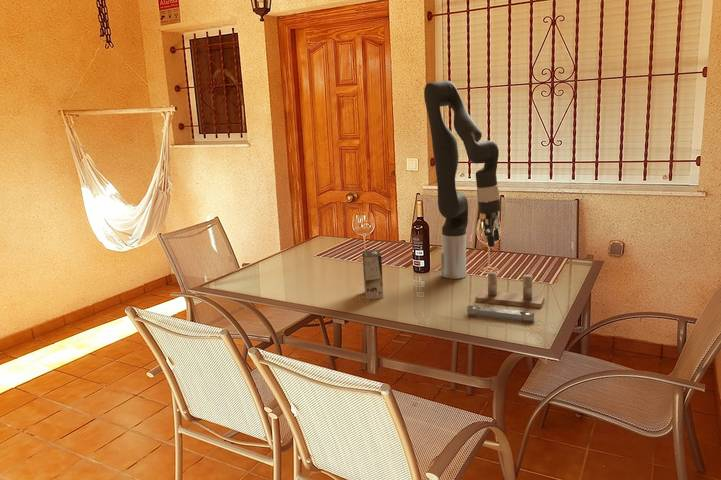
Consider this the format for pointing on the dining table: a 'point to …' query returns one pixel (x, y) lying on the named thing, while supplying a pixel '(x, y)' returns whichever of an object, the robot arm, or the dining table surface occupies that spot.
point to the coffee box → (372, 274)
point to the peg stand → (510, 294)
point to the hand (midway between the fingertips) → (494, 243)
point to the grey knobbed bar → (500, 314)
